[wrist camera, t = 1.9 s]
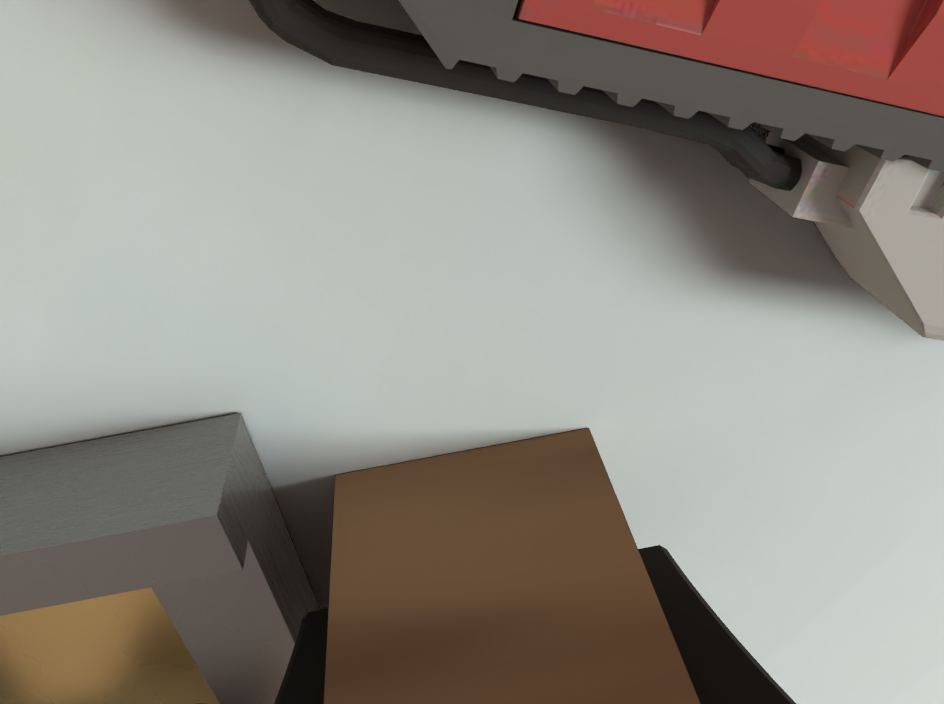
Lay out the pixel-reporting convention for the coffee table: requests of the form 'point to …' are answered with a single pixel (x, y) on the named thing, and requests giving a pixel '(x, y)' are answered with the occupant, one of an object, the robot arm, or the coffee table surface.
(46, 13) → the coffee table surface
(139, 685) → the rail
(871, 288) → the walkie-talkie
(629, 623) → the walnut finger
